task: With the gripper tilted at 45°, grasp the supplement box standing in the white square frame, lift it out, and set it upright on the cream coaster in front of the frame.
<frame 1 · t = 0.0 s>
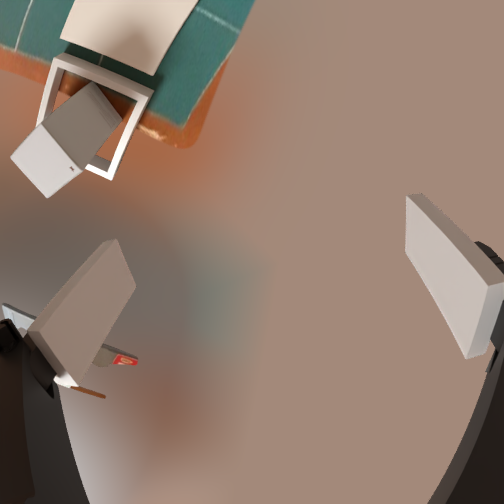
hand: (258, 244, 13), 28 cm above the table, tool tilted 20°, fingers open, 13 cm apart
cream coaster: (130, 4, 25), on the table
supplement box: (90, 113, 36), resting in white square frame
white square frame: (89, 113, 35), on the table
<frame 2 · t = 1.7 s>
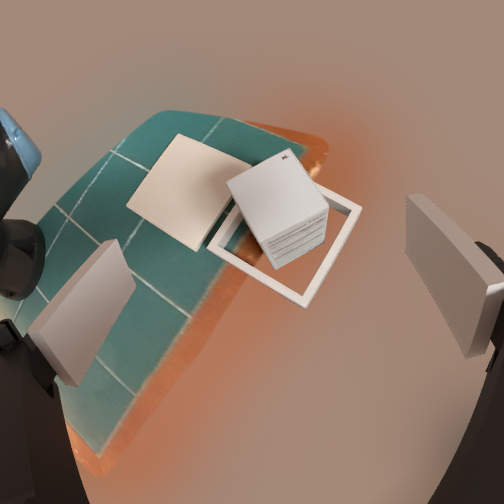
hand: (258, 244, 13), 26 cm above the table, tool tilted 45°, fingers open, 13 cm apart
cream coaster: (186, 188, 45), on the table
supplement box: (286, 234, 41), resting in white square frame
white square frame: (286, 233, 40), on the table
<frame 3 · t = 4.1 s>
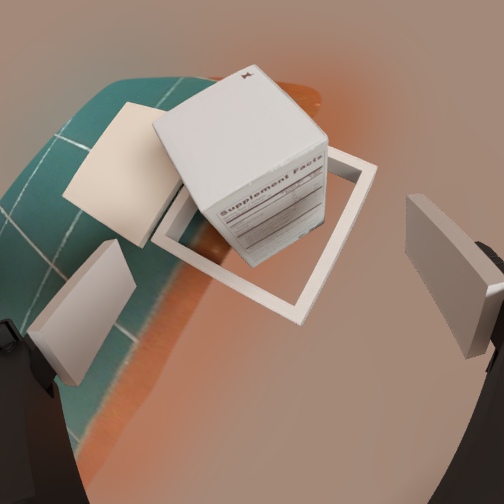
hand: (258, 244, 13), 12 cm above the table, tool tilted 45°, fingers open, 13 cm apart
cream coaster: (133, 165, 32), on the table
supplement box: (267, 214, 27), resting in white square frame
white square frame: (267, 213, 27), on the table
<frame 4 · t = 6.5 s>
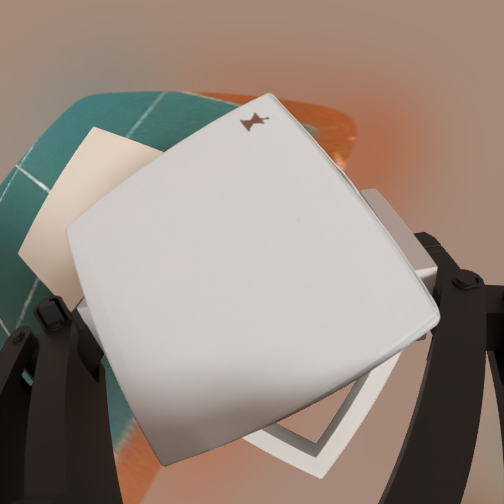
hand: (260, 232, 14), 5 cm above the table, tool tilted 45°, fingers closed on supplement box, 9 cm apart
cream coaster: (97, 219, 23), on the table
supplement box: (280, 312, 19), resting in white square frame, touching gripper
white square frame: (280, 312, 19), on the table
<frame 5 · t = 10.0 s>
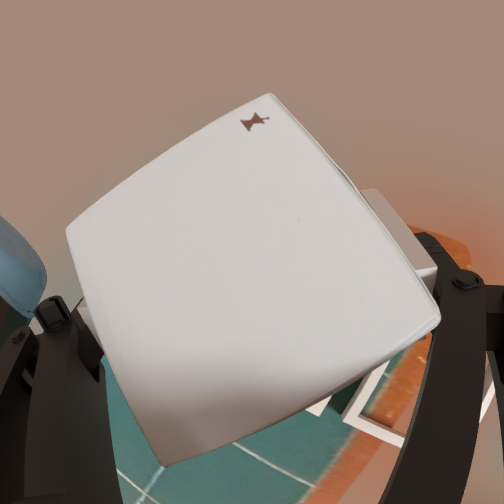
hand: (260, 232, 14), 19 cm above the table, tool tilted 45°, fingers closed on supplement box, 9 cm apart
supplement box: (280, 312, 19), point 13 cm above the table, touching gripper
white square frame: (431, 382, 26), on the table
when the fingers open (8 cm above the table, at t = 13.3 s): supplement box drops 1 cm, resting on cream coaster.
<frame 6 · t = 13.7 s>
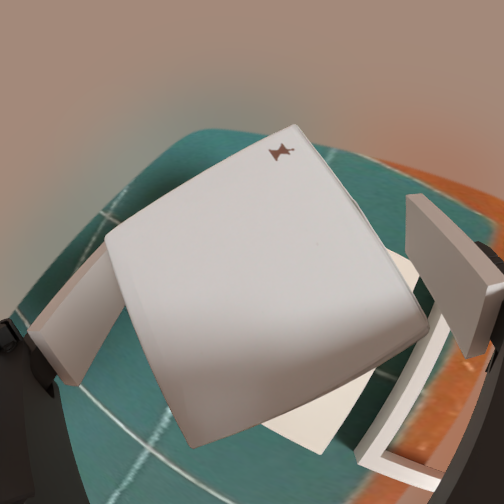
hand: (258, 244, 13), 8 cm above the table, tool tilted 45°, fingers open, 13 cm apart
cream coaster: (283, 315, 21), on the table
supplement box: (288, 314, 20), point 1 cm above the table, touching cream coaster
white square frame: (479, 397, 16), on the table
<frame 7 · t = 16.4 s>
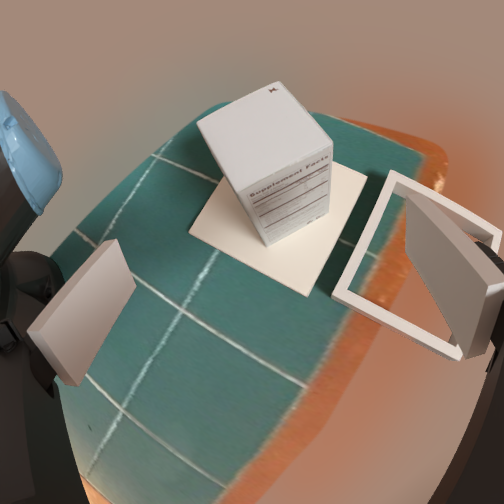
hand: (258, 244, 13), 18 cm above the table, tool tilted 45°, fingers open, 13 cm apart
cream coaster: (279, 206, 33), on the table
supplement box: (281, 203, 32), point 1 cm above the table, touching cream coaster
white square frame: (421, 266, 28), on the table
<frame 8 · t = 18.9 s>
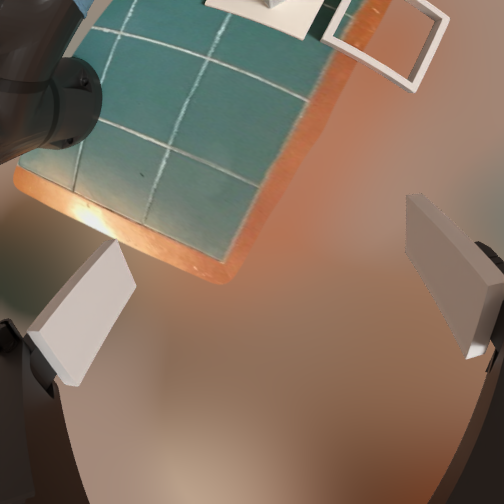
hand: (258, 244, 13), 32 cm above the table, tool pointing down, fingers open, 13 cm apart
white square frame: (385, 27, 32), on the table
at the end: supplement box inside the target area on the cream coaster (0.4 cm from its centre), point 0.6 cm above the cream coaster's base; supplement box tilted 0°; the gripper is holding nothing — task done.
